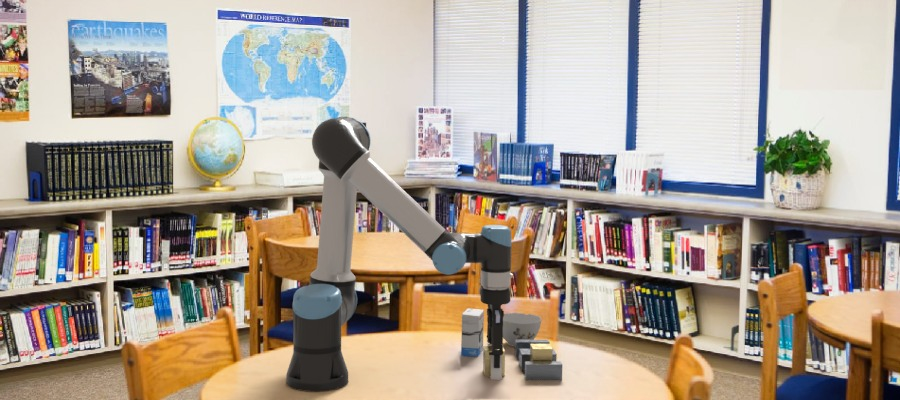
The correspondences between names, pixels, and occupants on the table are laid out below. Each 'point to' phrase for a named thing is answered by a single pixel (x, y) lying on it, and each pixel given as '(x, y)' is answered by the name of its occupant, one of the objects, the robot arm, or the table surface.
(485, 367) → the tan square-edged block
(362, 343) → the table surface
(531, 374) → the rail
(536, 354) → the wooden cube
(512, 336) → the teacup
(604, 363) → the table surface
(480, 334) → the ink box
